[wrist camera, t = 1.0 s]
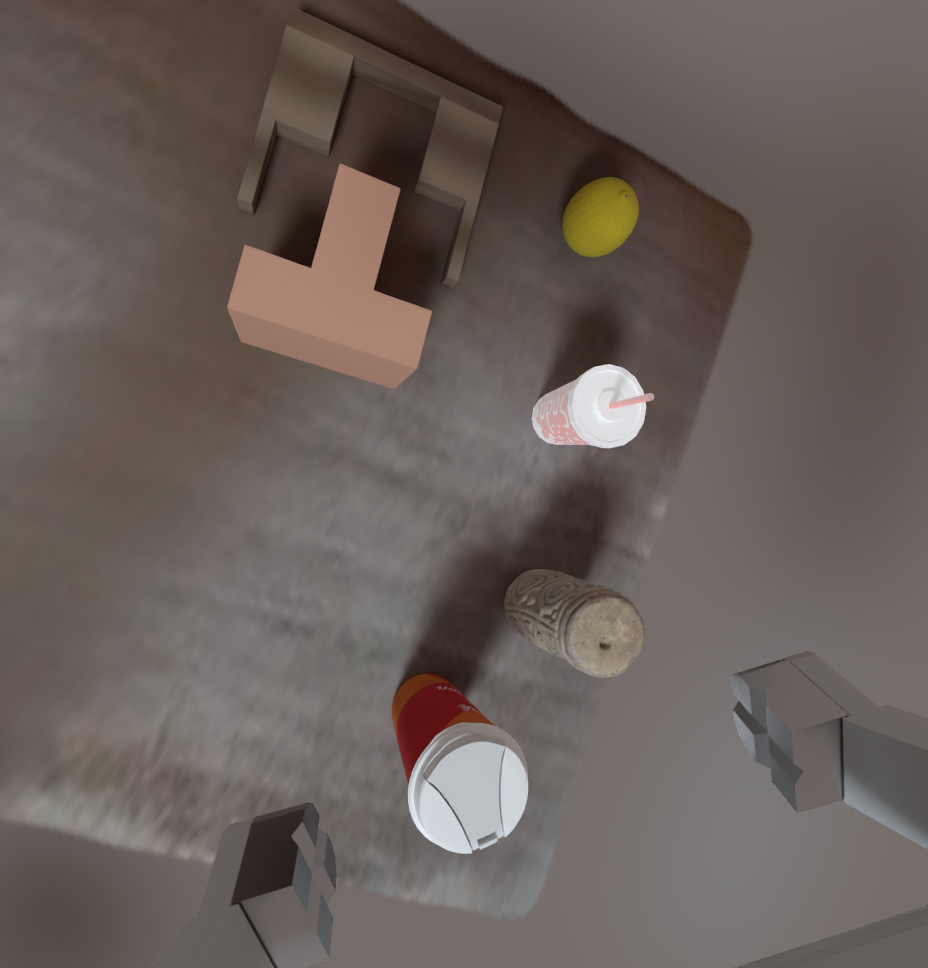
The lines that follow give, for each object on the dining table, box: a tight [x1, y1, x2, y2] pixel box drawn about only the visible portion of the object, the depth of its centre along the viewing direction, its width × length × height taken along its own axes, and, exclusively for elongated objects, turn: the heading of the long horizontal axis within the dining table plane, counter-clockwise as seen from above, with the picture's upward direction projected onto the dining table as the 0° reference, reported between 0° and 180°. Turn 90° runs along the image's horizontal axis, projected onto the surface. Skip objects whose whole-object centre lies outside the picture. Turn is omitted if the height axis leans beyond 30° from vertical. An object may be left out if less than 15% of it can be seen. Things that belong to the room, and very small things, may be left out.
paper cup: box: [392, 673, 528, 854], centre depth 40 cm, size 8×8×14 cm
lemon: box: [562, 177, 639, 257], centre depth 47 cm, size 6×6×8 cm
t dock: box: [237, 6, 503, 289], centre depth 45 cm, size 15×17×2 cm
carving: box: [504, 569, 645, 677], centre depth 44 cm, size 6×8×12 cm
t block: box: [227, 164, 432, 389], centre depth 41 cm, size 11×12×9 cm
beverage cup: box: [532, 364, 654, 448], centre depth 44 cm, size 6×6×14 cm
